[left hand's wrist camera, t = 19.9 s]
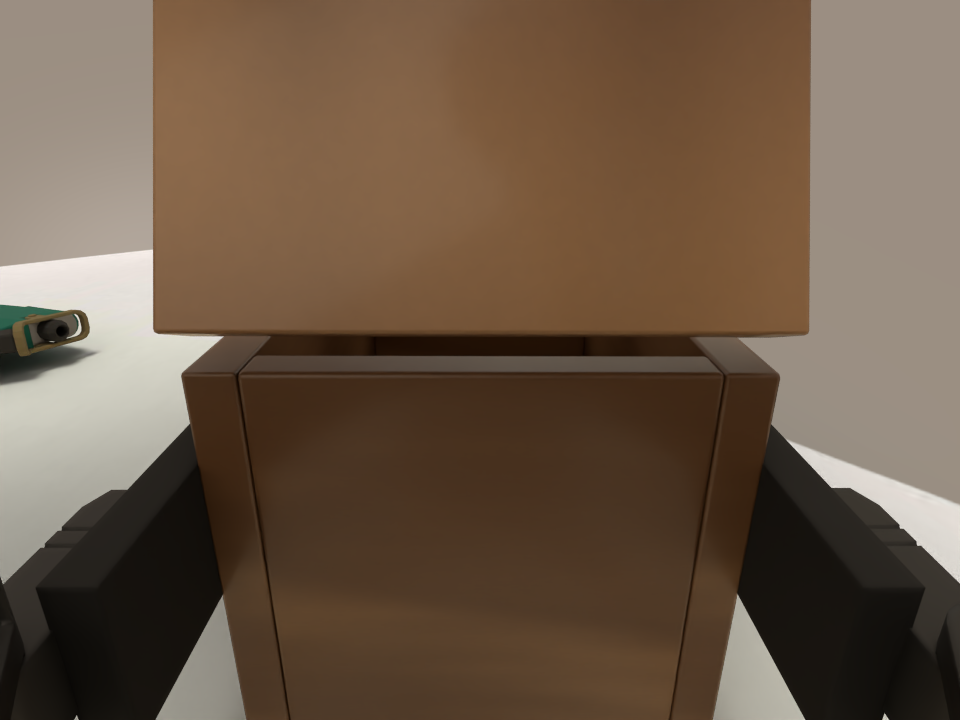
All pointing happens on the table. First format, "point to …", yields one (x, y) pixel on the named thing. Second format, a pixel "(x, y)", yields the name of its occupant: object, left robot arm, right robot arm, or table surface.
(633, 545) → the chest
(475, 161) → the lid
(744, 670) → the table surface
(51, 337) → the spray gun
